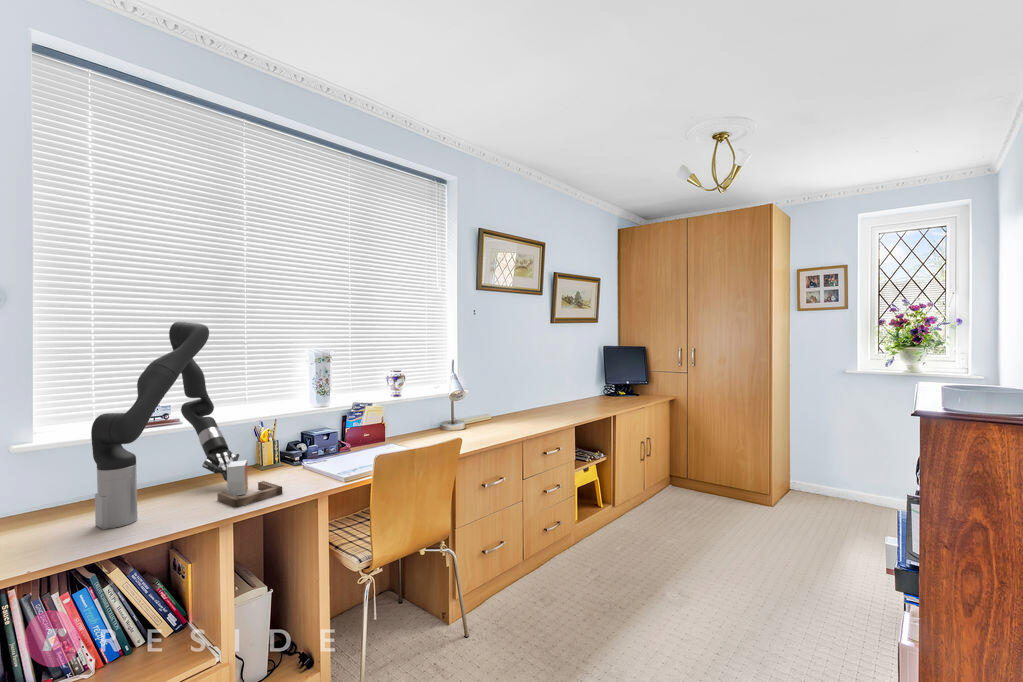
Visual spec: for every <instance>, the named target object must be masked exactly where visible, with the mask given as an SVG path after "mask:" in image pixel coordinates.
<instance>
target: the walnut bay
mask: <svg viewBox="0 0 1023 682" xmlns="http://www.w3.org/2000/svg"><path fill="white" fill-rule="evenodd" d="M257 490H259V491H256V492H252V493H249V494H245V495H240V496H238V495H237V496H234V495H232V494H229V493H227V492H225V491H221V492H217V501H219V502H220V503H223V504H226V505H229V506H231V507H233V508H236V507H237V508H239V507H243V506H246V505H249V504H250V505H251V504H253V503H256V502H260V501H263V500H266V499H269V498H272V497H277V496H279V495H282V494H283V486H282V485H281V486H280V485H278V484H275V483H271V482H269V481H266V480H262V481H258V482H257Z"/></svg>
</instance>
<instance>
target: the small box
mask: <svg viewBox="0 0 1023 682" xmlns="http://www.w3.org/2000/svg"><path fill="white" fill-rule="evenodd" d="M248 463H249V462H248V460H247V459H245V460H237V461H234V462H233V461H230V464H229V466H228V467H227V481H226V487H227V489H226V490H227V492H226V493H229V494H232V495H234V496H237V497H238V496H245V495H247V491H248V490H249V489H248V488H249V482H248V481H249V479H248V478H249V477H248V476H249V475H248V474H249V473H248V471H249V470H248V467H249V466H248Z"/></svg>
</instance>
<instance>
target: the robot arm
mask: <svg viewBox="0 0 1023 682" xmlns="http://www.w3.org/2000/svg"><path fill="white" fill-rule="evenodd" d="M209 337H210V329H209V327H208V326H207V325H206V324H203V323H198V322H189V321H181V320H180V321H175V322H173V323H172V324H171V325H170V328H169V332H168V339H169V343H170V345H171V348H172V351H170V352H168V353H166V354H164V355H162V356H160V357H158V358H156V359H155V360H153V361H151V362H150V363H149V364H148V365H147V366H146V368H145V369H144V370H143V372H142V373H141V374H140V375H139V377H138V379H137V382H136V383H137V384H136V389H137V390H136V391H137V398H136V400H135V401H134V403H133V405H132V406H131V407H130V408H129V409H128V410H127V411H126V412H109V413H108V412H106V413H102V414H100V415H98V416H97V417H95V419H94V420H93V423H92V426H91V429H90V430H91V431H90V433H91V434H90V435H91V437H90V438H91V439H90V440H91V445H92V446H91V448H92V457H93V460H94V462H95V464H96V485H97V486H96V487H97V489H96V490H97V493H95V494H94V508H95V509H94V512H95V513H94V514H95V526H96V527H98V528H100V529H101V531H102V530H106V529H113V528H115V529H116V528H120V527H125V526H127V525H130V524H132V523H135V522H137V520H138V512H139V511H138V484H137V483H138V482H137V481H138V480H137V456H136V454H135V453H133V452H130V451H128V450H127V449H125V448H124V447H123V445H129V444H131V443H133V442H135V441H136V440H138V438H139V437H140V436H141V435H142V433H143V432H144V430H145V428H146V426H147V425H148V423H149V421H150V420H151V418H152V416H153V413H154V412H155V410H156V409H157V407H158V406H159V405H160V403H161V401H162V400H163V398H164V397H165V396H166V394H167V393H168V392H169V390H171V388H172V386H173V385H174V383H175V382H176V381H177V380H178V378H179V376H180V375H181V378H182V385H183V390H184V391H183V392H184V395H185V397H187V398H189V399H194V400H190V401H187V402H184V403H183V404H182V405H181V407H180V413H181V414H182V416H183V418H184V419H185V420H186V421H187V422H188V423H189V424H190V425H191V426H192V427H193V428H194V430H195V432H196V435H197V437H198V440H199V444H200V446H201V448H202V450H203V452H204V454H205V457H206V459H205V460H203V461H204V462H203V464H202V466H201V467H202V468H205V469H206V470H208V471H210V472H212V473H214V474H215V475H218V474H221V475H222V478H223V479H224V480H225V481H226V482H227V467H228V466H229V464H230V462H234V461H239V458H240V456H241V455H240V454H239V453H236V454H234V453H233V452H232V451H231V450H230V449H229V446H228V444H227V441H226V439H225V437H224V435H223V433H222V431H221V430H220V429H219V426H218V423H217V422H216V420H215V418H214V417H211V416H210V415H212V413H213V412H214V410H215V406H214V403H213V402H212V400H211V398H210V396H209V393H208V391H207V386H206V378H205V374H204V371H203V370H202V369H201V367H200V365H199V364H198V363H197V362H196V360H195V359H194V357H195V356H196V355H198V353H199V352H200V351H201V350H202V348H204V347H205V345H206V344H207V342H208V340H209ZM230 460H231V461H230Z"/></svg>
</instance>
